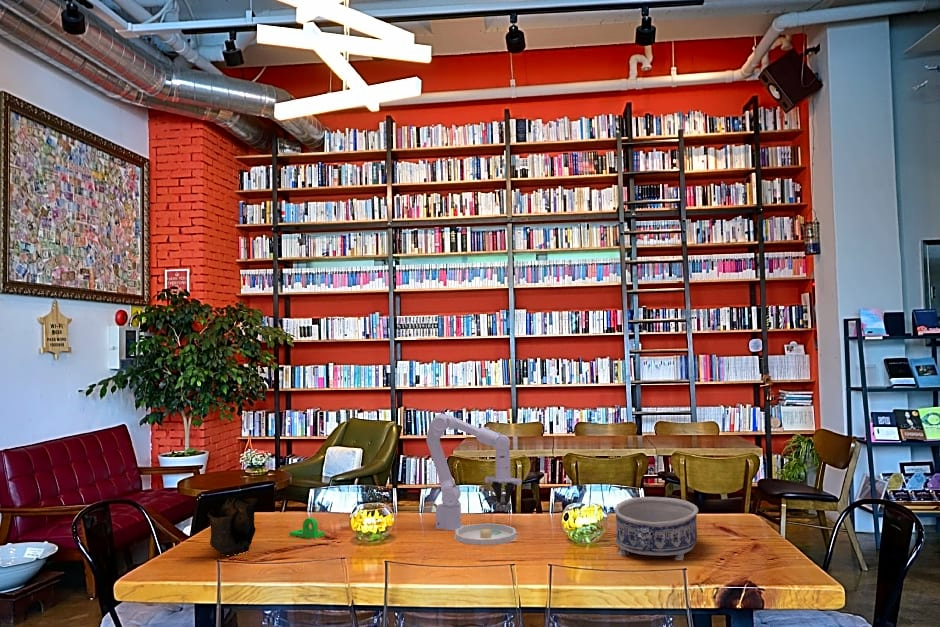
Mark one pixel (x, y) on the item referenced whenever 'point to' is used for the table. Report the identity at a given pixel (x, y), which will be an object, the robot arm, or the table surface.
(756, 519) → the table surface
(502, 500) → the planet gear
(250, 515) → the pottery vessel
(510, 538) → the carrier
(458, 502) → the robot arm
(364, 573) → the table surface
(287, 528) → the table surface
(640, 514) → the decorative bowl
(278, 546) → the table surface
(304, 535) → the mechanical part
